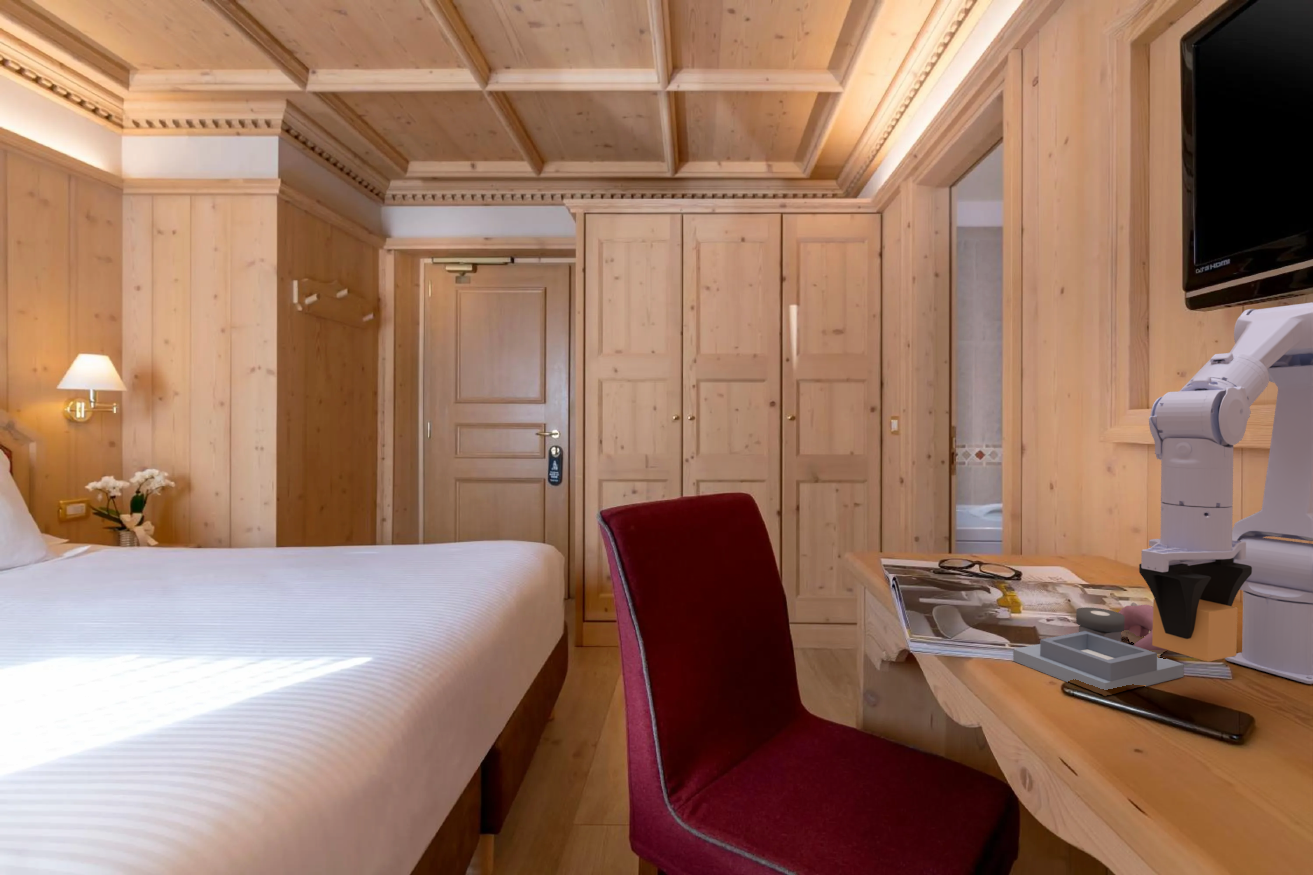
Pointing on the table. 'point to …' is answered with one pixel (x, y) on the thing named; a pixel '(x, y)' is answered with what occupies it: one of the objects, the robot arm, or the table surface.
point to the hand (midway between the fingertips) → (1194, 631)
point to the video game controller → (1140, 624)
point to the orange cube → (1202, 633)
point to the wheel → (1100, 619)
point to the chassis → (1097, 660)
